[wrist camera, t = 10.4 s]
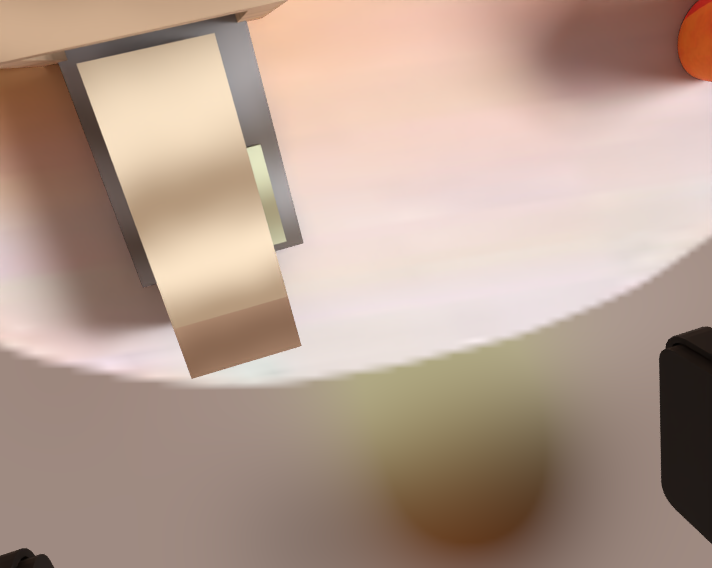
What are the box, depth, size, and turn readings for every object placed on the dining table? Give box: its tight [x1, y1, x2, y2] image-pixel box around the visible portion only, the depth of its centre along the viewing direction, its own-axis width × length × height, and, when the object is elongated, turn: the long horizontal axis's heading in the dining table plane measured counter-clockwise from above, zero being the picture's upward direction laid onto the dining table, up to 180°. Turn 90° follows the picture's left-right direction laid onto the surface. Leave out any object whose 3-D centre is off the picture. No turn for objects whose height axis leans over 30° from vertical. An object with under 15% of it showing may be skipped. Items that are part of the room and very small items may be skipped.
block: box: [77, 33, 301, 379], centre depth 32 cm, size 16×6×6 cm, turn 12°
